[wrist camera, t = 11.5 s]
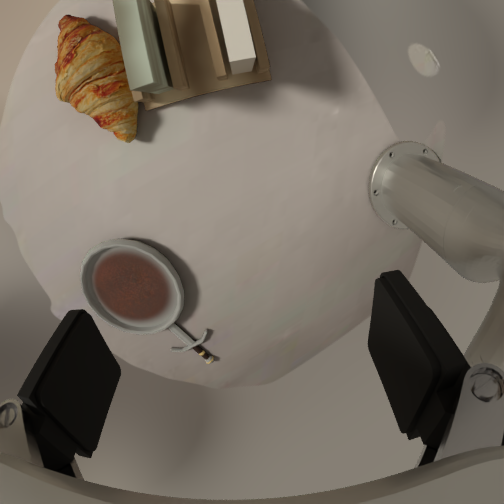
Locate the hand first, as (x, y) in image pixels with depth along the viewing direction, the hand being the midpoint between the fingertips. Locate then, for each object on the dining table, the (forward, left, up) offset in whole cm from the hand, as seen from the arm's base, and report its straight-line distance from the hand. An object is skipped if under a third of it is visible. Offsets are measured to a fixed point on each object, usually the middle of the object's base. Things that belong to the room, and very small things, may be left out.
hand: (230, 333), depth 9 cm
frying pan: (+18, +19, -30) cm, 39 cm away
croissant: (+14, -16, -30) cm, 37 cm away
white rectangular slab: (-3, -16, -28) cm, 33 cm away
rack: (+2, -16, -29) cm, 33 cm away
